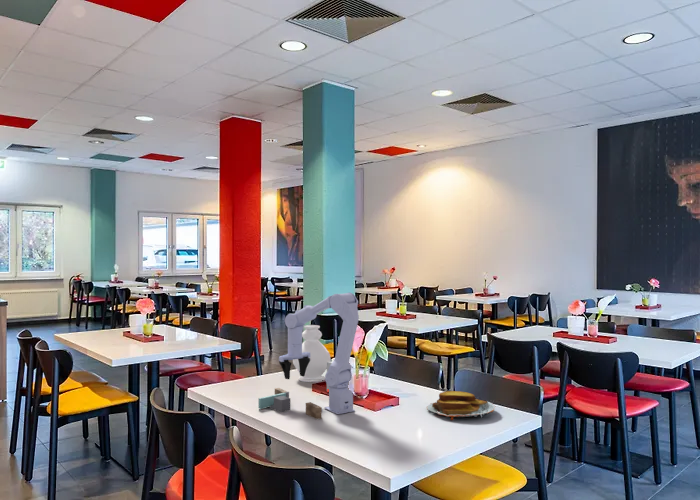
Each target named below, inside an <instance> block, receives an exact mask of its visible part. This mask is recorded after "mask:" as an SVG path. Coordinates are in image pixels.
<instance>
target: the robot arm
mask: <svg viewBox="0 0 700 500" xmlns="http://www.w3.org/2000/svg"><path fill="white" fill-rule="evenodd" d="M358 305H359V300H358V299H357V297H356V295H355V294H354V293H353V292H346V293H333V294H332V295H329V296H327V297H326V298H324V299H323V300H321V301H320V302H318V303H316V304H314V305H308V304H305V305H303V308H301V309H296V310H295V312H294V313H287V315H286V316H285V318H284V324H285V326H286V327H287V353H286V354H283V355H280V356H278V362H279V365H280V367H281V369H282V371H283V372H282V373H283V375H284V379H285V380H290V379H291V378H290V377H291V368H292V364H293V362H290V361H293V360H294V359H298V361H299V366H300V373H299V377H300V376H305V372H306V368H307V366H308V364H309V362H310V358H308V357H310V352H302V343H303V337H302V333H303V331H304V326H306V325H305V324H307V323H309V322H311V321H313V320H314V319H316V318H317V315H318V314H319V313H322V312H324V311H326V310H328V309H332V310H333V312H335V313H336V314H337V315H338V316H339V317H340V318H341V319H342V321H343V322H342V325H341V330H340V333H339V338H338V344H337V347H336V353H335V357H334V360H332V361H333V363H332V364H331V365H330V367H329V370H328V371H327V370H326V373H325V376H324V377H325V383H326V385H327V384H328V387H329V393H328V406H325V407H324V409H325V410H327V411H329V412H332V413H334V414H336V415H341V414H348V413H352V412H355V411H356V410H355V408H354V394H353V391H352V390H351V389H350V390H349V388H348V385H349V381H350V382H351V381H352V378H353V376H352V375H353V373H352V368H353V366H352V365H351V362H350V359H351V354H352V350H353V346H354V342H355V337H356V332H357V327H358V324H359V319H360V315H359V311H358V310H359V309H358ZM349 362H350V363H349Z"/></svg>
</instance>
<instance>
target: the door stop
mask: <svg viewBox="0 0 700 500" xmlns="http://www.w3.org/2000/svg"><path fill="white" fill-rule="evenodd" d="M269 409H271V410H273V411H276V412H281V413H285V412H289V411H291V398H290V397H289V398H288V397H285V396H279V397H274V405H271V406H270V407H269Z"/></svg>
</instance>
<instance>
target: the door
mask: <svg viewBox="0 0 700 500" xmlns="http://www.w3.org/2000/svg"><path fill="white" fill-rule="evenodd" d="M279 396H285V397H288V398H290V391H287V392H285V393H281V394H276V395H275V394H272V395H267V396H262V397H258V409H259V410H262V409H266V408H270V406H271V405H274V397H279Z"/></svg>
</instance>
